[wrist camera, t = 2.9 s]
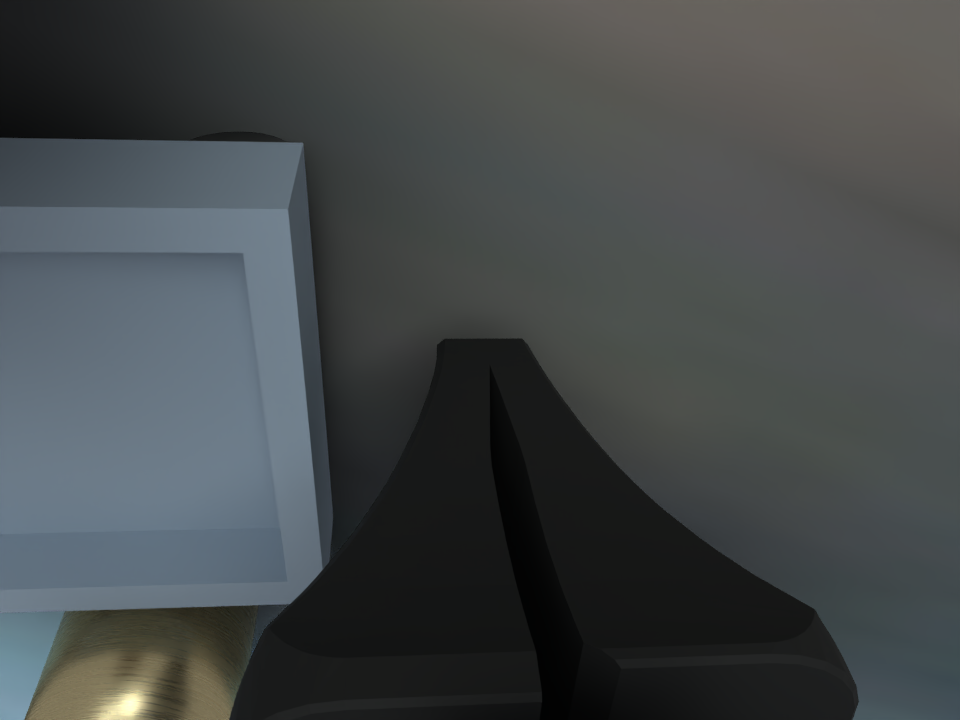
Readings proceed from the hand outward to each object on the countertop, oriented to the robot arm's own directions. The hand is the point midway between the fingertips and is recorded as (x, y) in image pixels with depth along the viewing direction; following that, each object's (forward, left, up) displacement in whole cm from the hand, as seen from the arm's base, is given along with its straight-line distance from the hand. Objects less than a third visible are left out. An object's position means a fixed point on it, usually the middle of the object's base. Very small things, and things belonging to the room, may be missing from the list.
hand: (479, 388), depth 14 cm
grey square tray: (0, +6, -3) cm, 7 cm away
